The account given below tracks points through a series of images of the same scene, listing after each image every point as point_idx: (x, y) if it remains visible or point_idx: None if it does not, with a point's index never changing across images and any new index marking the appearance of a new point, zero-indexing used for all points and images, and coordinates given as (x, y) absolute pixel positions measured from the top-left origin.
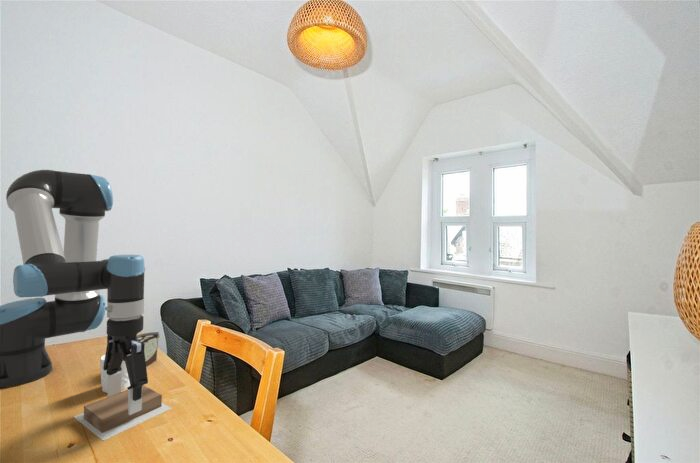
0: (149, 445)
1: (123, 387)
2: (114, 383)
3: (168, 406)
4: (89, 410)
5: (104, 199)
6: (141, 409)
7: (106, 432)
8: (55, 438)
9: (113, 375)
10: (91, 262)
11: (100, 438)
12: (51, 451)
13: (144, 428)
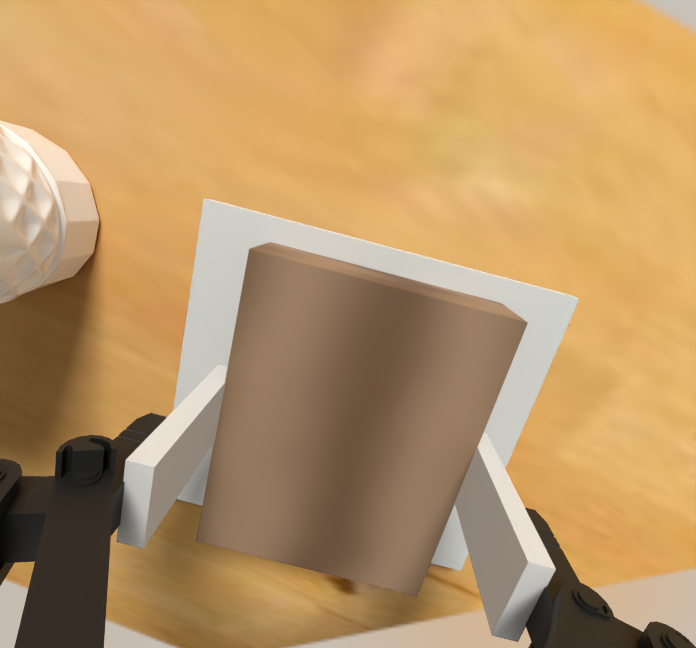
0: (656, 519)
1: (80, 226)
2: (186, 462)
3: (544, 289)
4: (266, 557)
5: None
6: (487, 437)
7: None
8: (246, 574)
9: (148, 518)
10: None
11: (437, 564)
12: (317, 618)
13: (540, 445)
